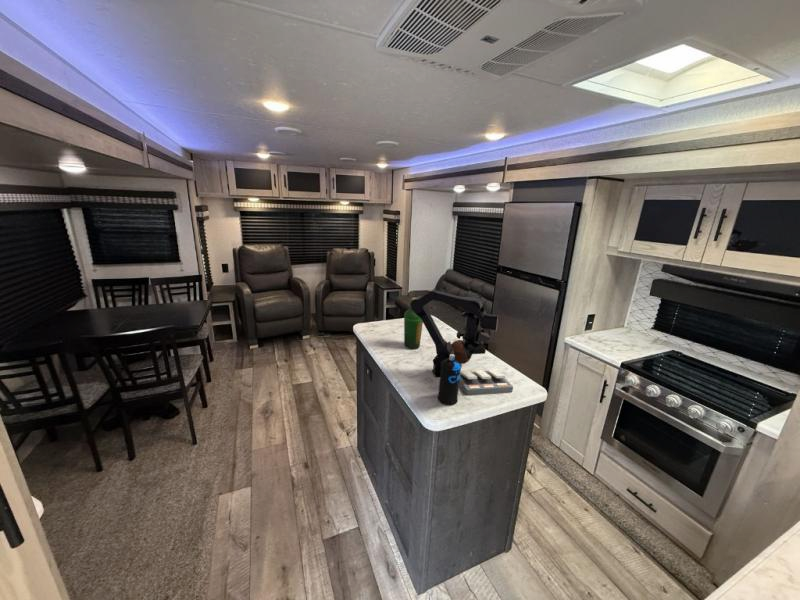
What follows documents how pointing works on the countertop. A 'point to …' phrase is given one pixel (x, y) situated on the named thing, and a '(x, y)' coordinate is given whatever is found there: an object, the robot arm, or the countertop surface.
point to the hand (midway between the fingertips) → (468, 359)
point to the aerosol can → (449, 381)
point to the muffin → (459, 352)
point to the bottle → (412, 329)
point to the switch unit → (484, 385)
